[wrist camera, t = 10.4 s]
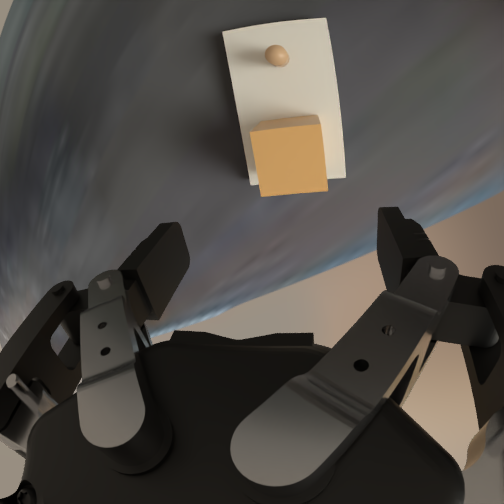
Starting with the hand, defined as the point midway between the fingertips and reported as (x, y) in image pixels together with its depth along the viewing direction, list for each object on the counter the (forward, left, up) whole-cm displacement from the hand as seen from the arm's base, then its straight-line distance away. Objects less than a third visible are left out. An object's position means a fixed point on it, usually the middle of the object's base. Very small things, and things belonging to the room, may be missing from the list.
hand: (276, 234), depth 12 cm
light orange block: (0, 0, -17) cm, 17 cm away
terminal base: (0, -4, -18) cm, 19 cm away
